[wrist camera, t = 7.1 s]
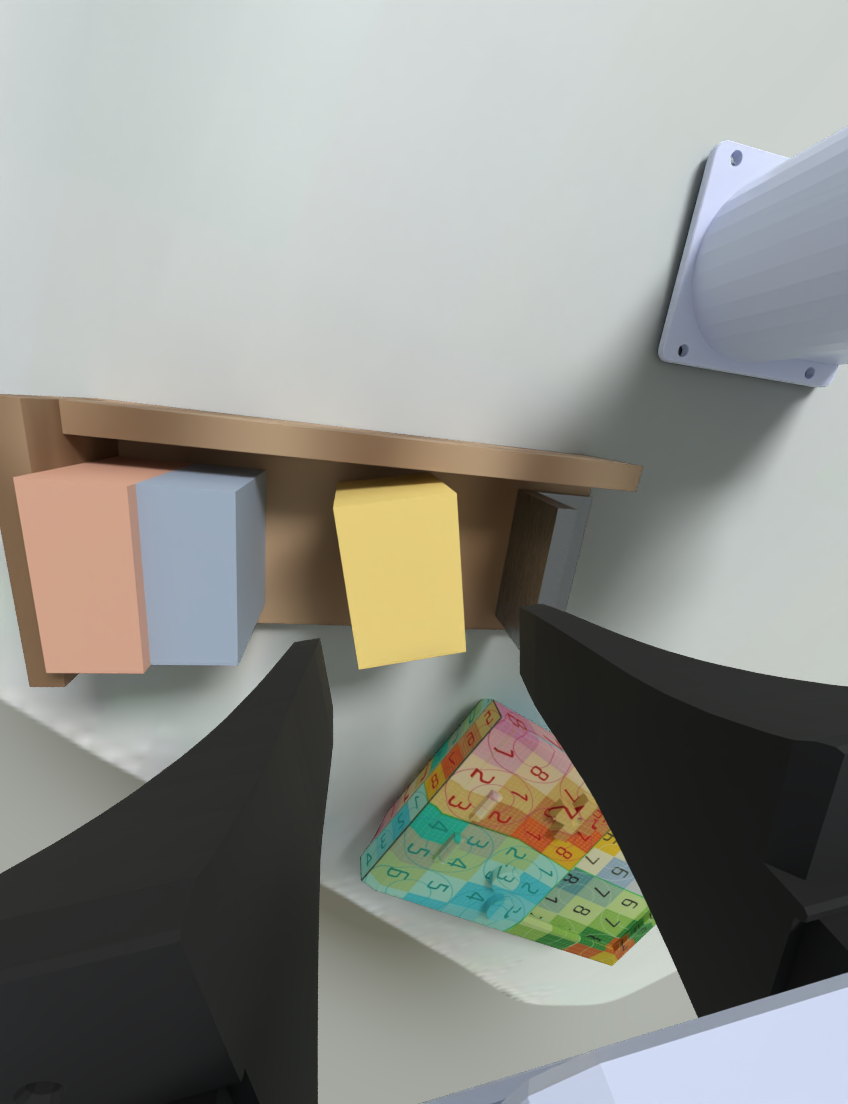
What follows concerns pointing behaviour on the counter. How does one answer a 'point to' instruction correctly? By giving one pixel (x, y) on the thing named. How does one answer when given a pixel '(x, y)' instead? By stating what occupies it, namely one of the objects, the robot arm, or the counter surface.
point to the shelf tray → (286, 493)
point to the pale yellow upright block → (401, 567)
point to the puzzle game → (510, 842)
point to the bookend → (540, 554)
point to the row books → (144, 562)
